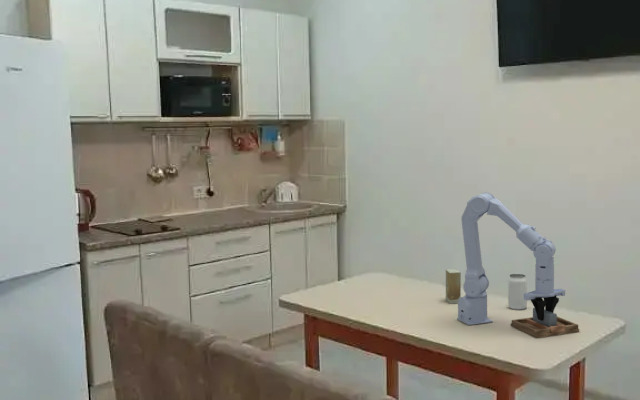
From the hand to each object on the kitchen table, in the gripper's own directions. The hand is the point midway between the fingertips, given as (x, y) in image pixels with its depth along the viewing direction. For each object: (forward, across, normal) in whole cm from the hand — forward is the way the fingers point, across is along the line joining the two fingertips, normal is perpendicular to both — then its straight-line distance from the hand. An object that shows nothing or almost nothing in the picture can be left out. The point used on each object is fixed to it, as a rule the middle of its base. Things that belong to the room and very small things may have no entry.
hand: (544, 319), depth 214 cm
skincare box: (+3, -10, +42) cm, 43 cm away
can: (+3, +7, +25) cm, 26 cm away
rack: (+3, 0, 0) cm, 3 cm away
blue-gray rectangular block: (+2, 0, 0) cm, 2 cm away
